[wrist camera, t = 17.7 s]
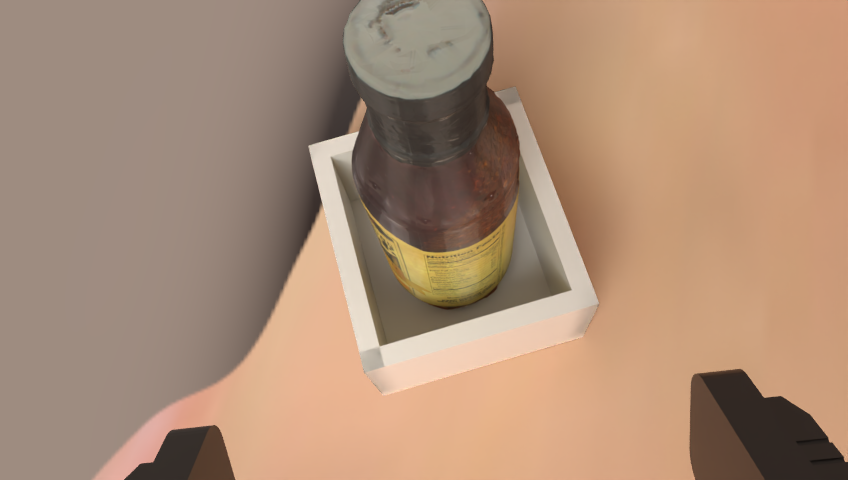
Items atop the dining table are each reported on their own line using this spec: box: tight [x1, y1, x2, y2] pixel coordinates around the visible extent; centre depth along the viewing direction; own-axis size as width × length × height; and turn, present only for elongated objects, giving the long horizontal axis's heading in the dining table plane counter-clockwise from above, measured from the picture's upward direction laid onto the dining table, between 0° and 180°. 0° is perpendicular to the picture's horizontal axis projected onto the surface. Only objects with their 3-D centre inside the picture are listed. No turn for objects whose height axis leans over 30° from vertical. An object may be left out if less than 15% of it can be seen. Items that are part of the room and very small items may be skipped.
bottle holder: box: [309, 86, 599, 396], centre depth 36 cm, size 10×11×6 cm
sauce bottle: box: [343, 0, 520, 310], centre depth 28 cm, size 7×6×20 cm
